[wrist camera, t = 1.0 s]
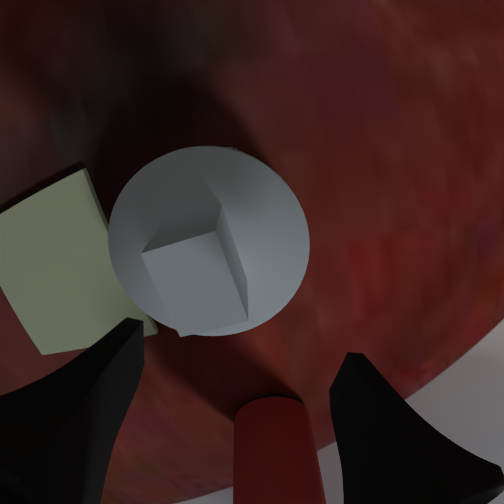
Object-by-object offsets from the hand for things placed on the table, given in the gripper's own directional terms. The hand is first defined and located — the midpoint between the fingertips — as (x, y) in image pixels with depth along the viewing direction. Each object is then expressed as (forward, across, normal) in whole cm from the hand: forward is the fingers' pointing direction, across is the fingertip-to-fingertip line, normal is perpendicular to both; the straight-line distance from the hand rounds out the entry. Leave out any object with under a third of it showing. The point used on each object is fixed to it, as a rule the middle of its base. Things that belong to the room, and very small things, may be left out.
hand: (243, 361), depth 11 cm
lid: (+7, +2, -1) cm, 7 cm away
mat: (+9, +13, +4) cm, 17 cm away
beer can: (+10, -5, +15) cm, 19 cm away
